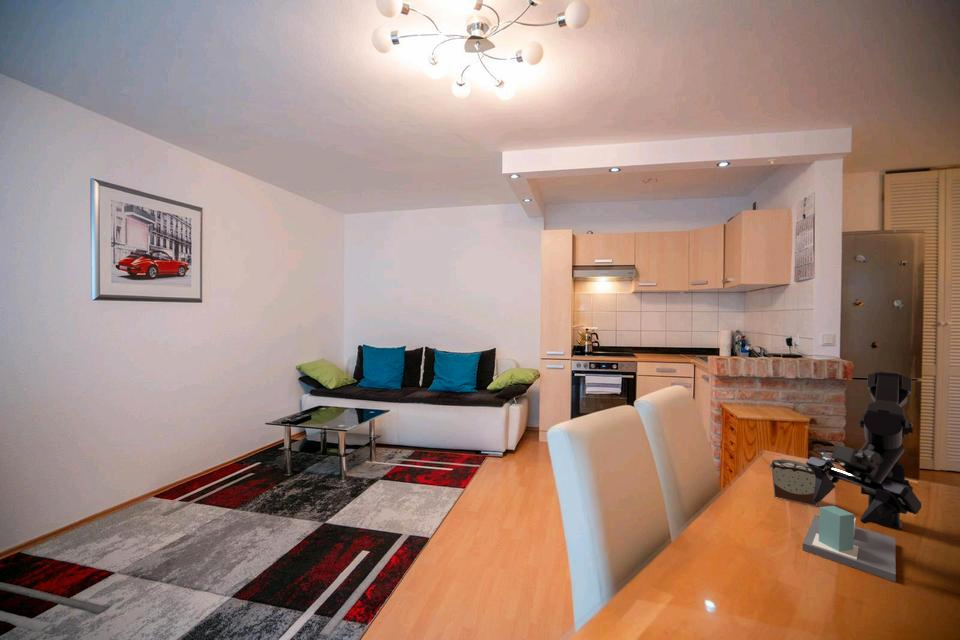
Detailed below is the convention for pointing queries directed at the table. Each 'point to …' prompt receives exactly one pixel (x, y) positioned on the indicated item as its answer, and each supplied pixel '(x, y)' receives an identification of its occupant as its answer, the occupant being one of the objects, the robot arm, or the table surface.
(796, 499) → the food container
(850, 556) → the building board
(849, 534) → the pillar
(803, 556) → the table surface
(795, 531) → the table surface
